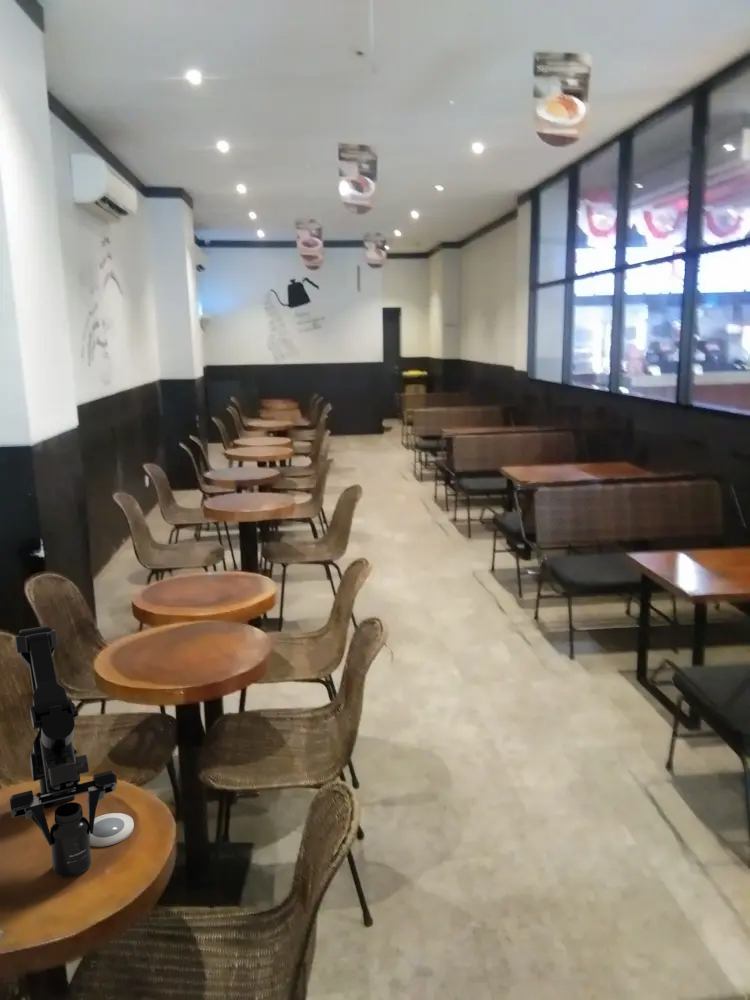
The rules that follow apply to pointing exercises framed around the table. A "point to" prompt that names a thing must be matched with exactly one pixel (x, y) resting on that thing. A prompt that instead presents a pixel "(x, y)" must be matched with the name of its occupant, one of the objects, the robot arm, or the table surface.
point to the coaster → (111, 829)
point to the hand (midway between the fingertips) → (71, 839)
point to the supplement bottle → (70, 841)
